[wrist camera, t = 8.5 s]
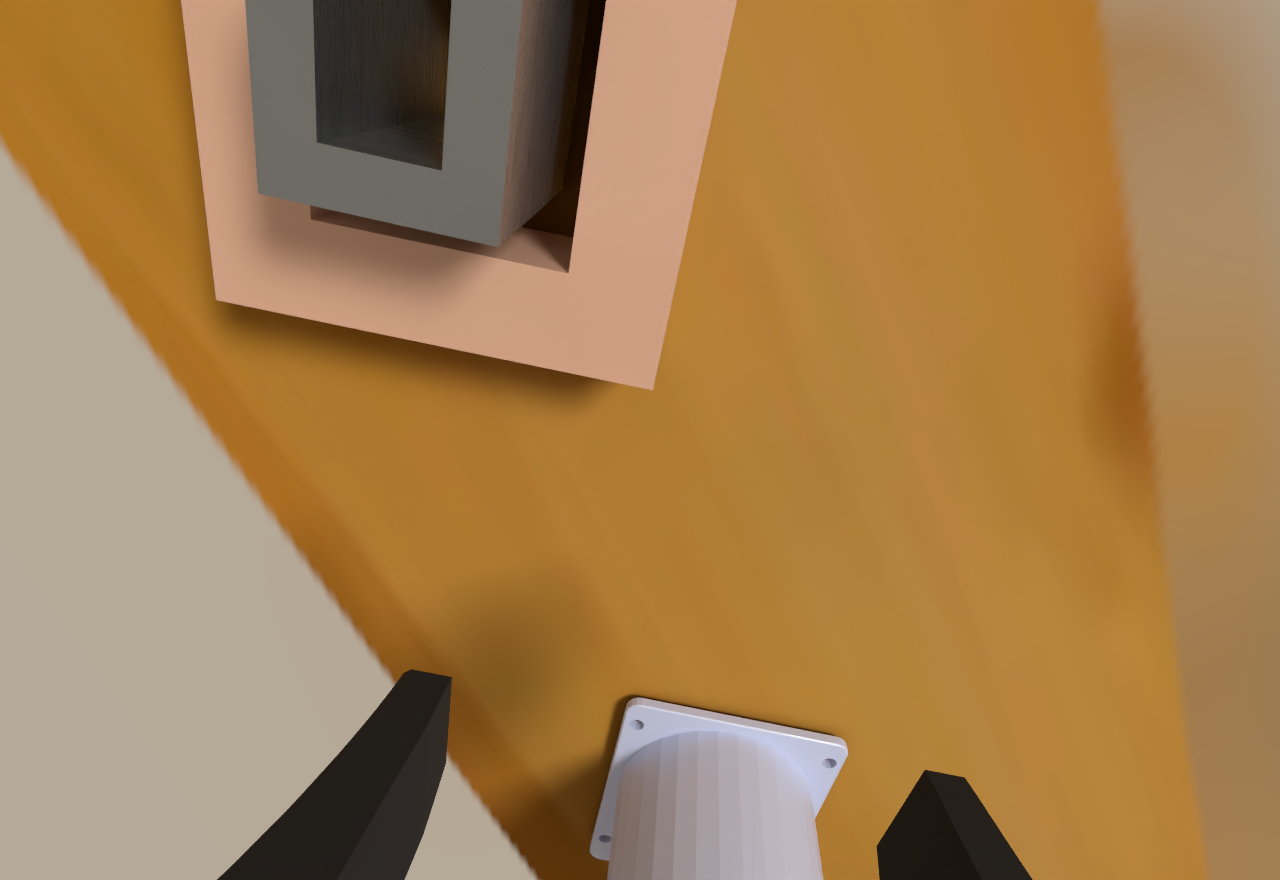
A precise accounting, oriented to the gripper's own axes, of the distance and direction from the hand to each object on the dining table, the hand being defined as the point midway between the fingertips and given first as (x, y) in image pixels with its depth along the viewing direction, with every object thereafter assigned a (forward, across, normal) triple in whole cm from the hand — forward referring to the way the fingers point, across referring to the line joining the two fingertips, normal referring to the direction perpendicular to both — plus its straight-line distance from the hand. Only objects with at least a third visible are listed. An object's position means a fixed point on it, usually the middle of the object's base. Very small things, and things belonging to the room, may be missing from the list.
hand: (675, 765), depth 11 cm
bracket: (+11, +6, -8) cm, 15 cm away
